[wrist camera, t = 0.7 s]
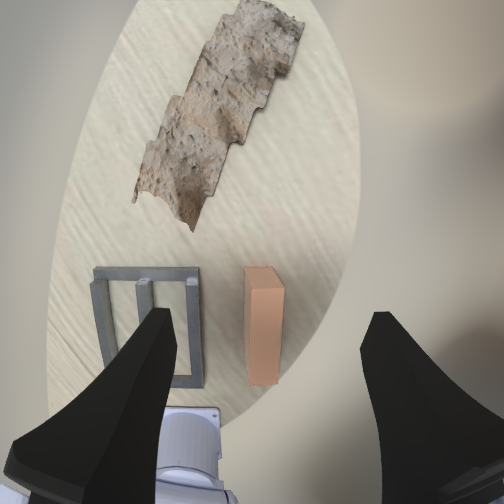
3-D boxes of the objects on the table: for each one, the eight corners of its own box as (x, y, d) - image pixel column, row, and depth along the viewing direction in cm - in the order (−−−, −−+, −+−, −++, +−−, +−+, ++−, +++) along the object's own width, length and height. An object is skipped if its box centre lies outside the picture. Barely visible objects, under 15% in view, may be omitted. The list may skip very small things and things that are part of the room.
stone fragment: (305, 19, 25) (211, -8, 23) (313, 7, 22) (212, -23, 21) (228, 255, 30) (126, 226, 28) (230, 263, 27) (118, 231, 25)
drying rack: (203, 382, 32) (203, 395, 30) (115, 379, 31) (110, 390, 29) (198, 267, 29) (196, 274, 27) (96, 266, 28) (88, 273, 26)
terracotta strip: (267, 350, 32) (277, 384, 26) (243, 350, 31) (249, 385, 26) (271, 266, 30) (284, 288, 24) (244, 266, 29) (251, 288, 24)
